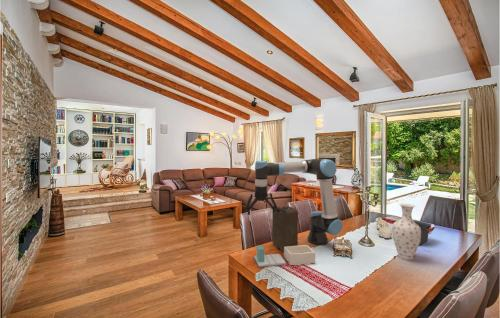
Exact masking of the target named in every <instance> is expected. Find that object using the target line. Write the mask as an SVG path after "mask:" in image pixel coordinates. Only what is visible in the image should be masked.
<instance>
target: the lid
mask: <svg viewBox="0 0 500 318" xmlns="http://www.w3.org/2000/svg"><path fill="white" fill-rule="evenodd" d="M253 257H254V258H255V260H256V262H257V264H258V266H259V267H262V266H273V265H284V264H287V263H286V262H287V261H286V260H285V258H284V257H283V256H281V254H280V253H274V254H273V253H272V254H271V253H269V254H265V248H264V246H263V245H262V244H260V245H259V244H258V245H256V255H254V256H253ZM254 258H253V259H254ZM255 260H254V261H255ZM256 262H255V263H256ZM257 264H256V265H257ZM258 266H257V267H258Z"/></svg>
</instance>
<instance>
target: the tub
mask: <svg viewBox="0 0 500 318" xmlns="http://www.w3.org/2000/svg"><path fill="white" fill-rule="evenodd" d="M301 252H304V253H301ZM283 259H284V260H285V261H286V262H287V261H288V262H289V263H288V262H287V263H288V265H289V266H290V265H294V266H299V265H298V264H305V265H309V264H308V263H315V264H316V252H315V251H314V249H312V248H311V247H310V246H309V245H307V244H303V245H301V244H300V245H297V246H287V247H284V253H283Z"/></svg>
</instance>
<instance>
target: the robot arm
mask: <svg viewBox="0 0 500 318" xmlns="http://www.w3.org/2000/svg"><path fill="white" fill-rule="evenodd" d="M254 165H255V166H254V172H255V173H254V177H255V178H254V185H255V186H254V193H249V197H248V199H247V202H246V203H245V206H244V209H245V210H247V216H248V221H250V222H252V210H251V209H252V208H253V207H254V206H255V204H256V203H257V202H264V201H265V202H266V203H267V204H268V206H269V207H270V209H269V210H270V213H269V217H270V218H269V219H270V220H271V221H272V220H273V214H274V209H275V208H277V207H278V206H277V204H276V201H275V199H274V197H273V193H271V192H269V193H268V177H273V176H276V177H277V176H279V177H280V176H283V175H284V174H285V173H286V174H288V173H290V174H291V173H301V174H309V175H315V177H316V180H317V181H318V183H319V191H320V198H321V207H322V210H319V211H318V210H317V211H316V210H315V211H311V212H310V213H309V214H310V215H309V232H308V235H307V242H308V243H309V244H312V245H316V246H317V245H318V246H324V245H327V244H328V243H329V241H328V239H329V238H328V236H327V234H329V235H332V236H337V235H339V234H340V233H341V232H342V230H343V228H344V227H343V225H344V224H343V221H342V220H341V219H340V218H339V214H338V213H337V212H336V205H335V196H334V195H335V194H334V187H333V179H334V178H335V175H336V172H337V169H338V168H337V165H336V163H335V162H334V161H333V160H331V159H327V158H313V159H302V160H301V161H287V162H286V161H283V162H280V161H279V162H268V161H267V160H257V161H256V162H255V164H254ZM267 197H269V198H270V201H271V202H270V201H269V200H268V198H267ZM253 199H254V200H253ZM252 200H253V201H252Z"/></svg>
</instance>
